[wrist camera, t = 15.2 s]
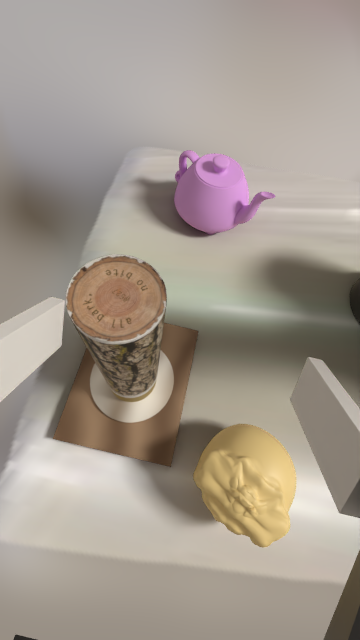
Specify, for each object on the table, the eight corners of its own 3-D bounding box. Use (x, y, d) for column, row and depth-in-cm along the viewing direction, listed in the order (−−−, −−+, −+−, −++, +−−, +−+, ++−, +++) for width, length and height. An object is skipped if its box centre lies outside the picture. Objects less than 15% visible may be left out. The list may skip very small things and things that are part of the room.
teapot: (270, 225, 61) (297, 174, 50) (229, 266, 55) (249, 219, 44) (195, 173, 65) (205, 116, 54) (151, 207, 59) (152, 151, 48)
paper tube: (136, 413, 41) (122, 363, 18) (98, 383, 42) (42, 301, 19) (165, 375, 44) (186, 289, 21) (130, 347, 45) (113, 238, 22)
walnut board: (197, 334, 49) (198, 329, 47) (169, 466, 40) (170, 466, 39) (102, 311, 49) (101, 306, 47) (55, 439, 40) (51, 438, 39)
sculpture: (175, 479, 40) (184, 487, 30) (228, 411, 44) (252, 399, 35) (241, 546, 38) (274, 579, 28) (291, 468, 42) (335, 472, 32)
